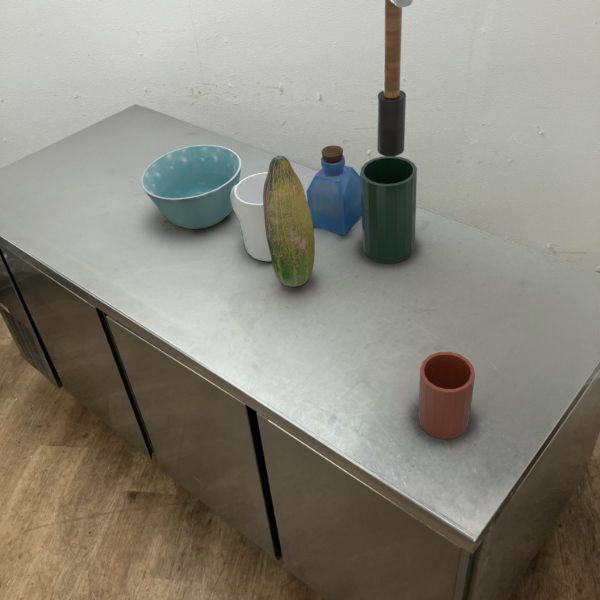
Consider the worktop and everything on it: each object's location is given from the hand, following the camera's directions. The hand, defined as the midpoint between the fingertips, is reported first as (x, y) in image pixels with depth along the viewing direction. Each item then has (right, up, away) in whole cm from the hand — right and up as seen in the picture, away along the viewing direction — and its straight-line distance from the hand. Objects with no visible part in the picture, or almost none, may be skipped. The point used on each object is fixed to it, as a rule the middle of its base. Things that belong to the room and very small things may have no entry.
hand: (393, 0), depth 66 cm
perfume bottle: (-4, -18, +34) cm, 39 cm away
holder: (+6, -44, +5) cm, 45 cm away
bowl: (-26, -17, +39) cm, 50 cm away
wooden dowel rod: (+1, -13, +12) cm, 17 cm away
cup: (+3, -23, +28) cm, 36 cm away
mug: (-15, -22, +32) cm, 42 cm away
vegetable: (-10, -29, +24) cm, 39 cm away
